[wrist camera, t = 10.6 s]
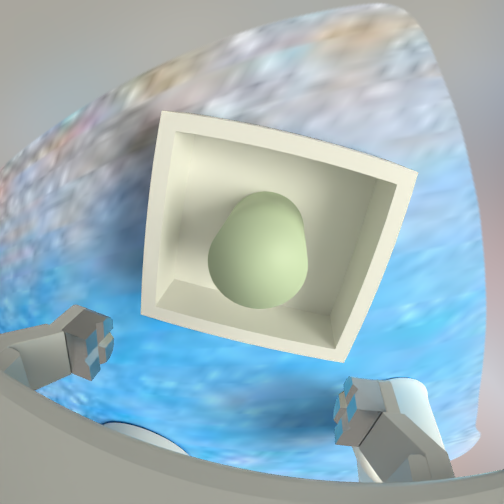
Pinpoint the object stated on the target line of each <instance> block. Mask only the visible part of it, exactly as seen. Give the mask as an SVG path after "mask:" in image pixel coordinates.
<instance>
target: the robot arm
mask: <svg viewBox="0 0 504 504" xmlns="http://www.w3.org/2000/svg"><path fill="white" fill-rule="evenodd" d="M112 329H113V321H112V319H111V318H110V317H108V316H105V315H103V314H100V313H98V312H95V311H92V310H90V309H87V308H84V307H82V306H79V305H73V306H72V307H70V308H69V309H68V310H67V311H66V312H64V313H63V314H62V315H61V316H60V317H58V318H57V319H56V320H55V321H54V322H53V323H51V324H50V325H48V324H43V325H39V326H34V327H30V328H25V329H21V330H16V331H12V332H7V333H3V334H0V504H504V469H503V470H498V471H493V472H488V473H483V474H477V475H472V476H464V477H457V478H455V476H454V472H453V469H452V466H451V463H450V460H449V457H448V454H447V452H446V451H445V450H444V449H443V448H441V447H440V446H439V445H438V444H437V443H436V442H435V441H434V440H433V439H431V438H430V437H429V436H428V435H427V434H426V433H425V432H424V431H423V430H422V429H421V428H419V427H418V426H417V425H416V424H415V423H414V422H413V421H412V420H411V419H410V418H408V417H407V416H406V415H405V414H401V413H400V409H399V406H398V403H397V399H396V396H395V393H394V390H393V387H392V384H391V382H390V381H384V380H371V379H364V378H357V377H350V376H349V377H348V378H347V379H346V381H345V383H344V391H343V392H342V393H340V394H339V395H338V397H337V399H336V401H335V405H334V410H333V420H334V421H335V422H336V423H337V426H336V427H335V429H334V433H335V444H337V445H345V446H354V447H359V450H360V451H361V453H362V454H363V455H364V457H365V458H366V460H367V461H368V462H369V464H370V465H371V467H372V468H373V469H374V471H375V472H376V474H377V475H378V476H379V478H380V479H381V481H382V482H383V483H364V482H340V481H325V480H314V479H304V478H296V477H288V476H281V475H274V474H268V473H262V472H257V471H251V470H246V469H241V468H236V467H232V466H227V465H223V464H219V463H215V462H211V461H207V460H203V459H199V458H195V457H192V456H189V455H188V454H187V453H186V452H185V451H184V450H183V449H181V448H180V447H179V446H177V445H176V444H174V443H172V442H171V441H169V440H167V439H166V438H164V437H162V436H160V435H158V434H155V433H153V432H151V431H148V430H146V429H143V428H140V427H137V426H133V425H129V424H124V423H107V424H104V425H102V424H99V423H97V422H95V421H93V420H90V419H88V418H86V417H84V416H82V415H80V414H78V413H76V412H73V411H71V410H69V409H67V408H65V407H63V406H61V405H60V404H58V403H56V402H54V401H52V400H50V399H48V398H46V397H45V396H43V395H41V394H39V393H37V392H36V391H34V390H37V389H39V388H41V387H43V386H46V385H48V384H50V383H52V382H55V381H57V380H59V379H61V378H64V377H66V376H68V375H70V374H71V373H73V374H75V375H78V376H80V377H83V378H85V379H88V380H90V381H92V380H93V379H94V377H95V376H96V375H97V373H98V372H99V371H100V364H102V363H105V362H107V361H108V359H109V358H110V356H111V354H112V351H113V346H114V338H113V336H112V335H111V333H110V331H111V330H112Z"/></svg>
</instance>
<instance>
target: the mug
mask: <svg viewBox="0 0 504 504" xmlns="http://www.w3.org/2000/svg"><path fill="white" fill-rule="evenodd" d="M385 381H390V382H391V384H392V387H393V390H394V393H395V396H396V399H397V403H398V406H399V409H400V413H401V414H405V415H406V416H407V417H408V418H410V419H411V420H412V421H413V422H414V423H415V424H416V425H417V426H418V427H419V428H421V429H422V430H423V431H424V432H425V433H426V434H427V435H428V436H429V437H430V438H431V439H433V440H434V441H435V442H436V443H437V444H438V445H439V446H440V447H441V448H443V449H444V450H445V448H444V445H443V442H442V439H441V436H440V433H439V430H438V427H437V424H436V421H435V418H434V415H433V413H432V410H431V407H430V404H429V401H428V393H427V389H426V387H425V386H424V385H423V384H422V383H421V382H420V381H418V380H415V379H412V378H393V379H388V380H385ZM352 448H353V451H354V453H355V456H356V458H357V467H358V477H359V482H364V483H383V482H382V481H381V479H380V478H379V476H378V475H377V474H376V472H375V471H374V469H373V468H372V467H371V465H370V464H369V462H368V461H367V460H366V458H365V457H364V455H363V454H362V453H361V451H360V450H359V447H354V446H352Z"/></svg>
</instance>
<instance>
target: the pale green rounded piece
mask: <svg viewBox="0 0 504 504" xmlns="http://www.w3.org/2000/svg"><path fill="white" fill-rule="evenodd" d="M208 269H209V273H210V276H211V279H212V281H213V283H214V284H215V286H216V287H217V289H218V290H219V291H220V292H221V293H222V294H223V295H224V296H225V297H227V298H228V299H229V300H231V301H233V302H234V303H236V304H239V305H241V306H244V307H248V308H253V309H266V308H272V307H276V306H279V305H281V304H283V303H285V302H287V301H288V300H290V299H291V298H292V297H294V296H295V295H296V294H297V293H298V291H299V290H300V289H301V287H302V285H303V284H304V281H305V279H306V275H307V271H308V258H307V249H306V241H305V232H304V224H303V219H302V216H301V213H300V212H299V210H298V208H297V207H296V205H295V204H294V203H293V202H292V201H290V200H289V199H288V198H286V197H285V196H283V195H281V194H278V193H275V192H266V191H264V192H257V193H253V194H250V195H248V196H246V197H245V198H243V199H242V200H241V201H240V202H239V203H238V204H237V205H236V206H235V208H234V209H233V211H232V212H231V214H230V215H229V217H228V218H227V220H226V221H225V223H224V224H223V226H222V227H221V229H220V230H219V232H218V233H217V235H216V236H215V238H214V240H213V241H212V243H211V246H210V249H209V253H208Z"/></svg>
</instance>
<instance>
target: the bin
mask: <svg viewBox="0 0 504 504" xmlns="http://www.w3.org/2000/svg"><path fill="white" fill-rule="evenodd" d="M417 175H418V172H416V171H414V170H411V169H409V168H406V167H404V166H401V165H399V164H396V163H394V162H391V161H388V160H385V159H382V158H379V157H376V156H373V155H370V154H367V153H364V152H360V151H357V150H354V149H350V148H347V147H344V146H340V145H337V144H333V143H329V142H326V141H322V140H318V139H315V138H311V137H307V136H303V135H299V134H295V133H291V132H286V131H282V130H278V129H273V128H269V127H264V126H260V125H255V124H250V123H245V122H240V121H234V120H229V119H223V118H218V117H212V116H206V115H199V114H193V113H184V112H173V111H162V112H161V117H160V123H159V129H158V135H157V141H156V148H155V154H154V161H153V168H152V176H151V184H150V192H149V201H148V210H147V220H146V231H145V243H144V257H143V273H142V295H141V315H145V316H148V317H151V318H155V319H158V320H161V321H165V322H168V323H172V324H175V325H179V326H182V327H186V328H189V329H193V330H197V331H200V332H204V333H208V334H212V335H216V336H220V337H223V338H227V339H232V340H236V341H240V342H244V343H248V344H252V345H257V346H261V347H266V348H270V349H275V350H279V351H284V352H289V353H294V354H299V355H304V356H309V357H314V358H319V359H325V360H330V361H336V362H342V363H344V361H345V359H346V357H347V355H348V353H349V351H350V349H351V347H352V345H353V343H354V341H355V339H356V337H357V334H358V332H359V330H360V328H361V326H362V324H363V321H364V319H365V317H366V315H367V312H368V310H369V308H370V305H371V303H372V301H373V298H374V296H375V294H376V291H377V289H378V287H379V284H380V282H381V279H382V277H383V274H384V272H385V269H386V267H387V264H388V261H389V259H390V256H391V253H392V251H393V248H394V245H395V243H396V240H397V237H398V234H399V231H400V228H401V226H402V223H403V220H404V217H405V214H406V211H407V208H408V204H409V201H410V198H411V195H412V192H413V188H414V185H415V182H416V178H417ZM264 191H266V192H275V193H278V194H281V195H283V196H285V197H286V198H288V199H289V200H290V201H292V202H293V203H294V204H295V205H296V207H297V208H298V210H299V212H300V213H301V216H302V219H303V224H304V232H305V241H306V249H307V258H308V271H307V275H306V279H305V281H304V284H303V285H302V287H301V289H300V290H299V291H298V293H297V294H296V295H295V296H294V297H292V298H291V299H290V300H288V301H287V302H285V303H283V304H281V305H279V306H276V307H272V308H266V309H253V308H248V307H244V306H241V305H239V304H236V303H234V302H233V301H231V300H229V299H228V298H227V297H225V296H224V295H223V294H222V293H221V292H220V291H219V290H218V289H217V287H216V286H215V284H214V283H213V281H212V279H211V276H210V273H209V269H208V253H209V249H210V246H211V243H212V241H213V240H214V238H215V236H216V235H217V233H218V232H219V230H220V229H221V227H222V226H223V224H224V223H225V221H226V220H227V218H228V217H229V215H230V214H231V212H232V211H233V209H234V208H235V206H236V205H237V204H238V203H239V202H240V201H241V200H242V199H243V198H245V197H246V196H248V195H250V194H253V193H257V192H264Z"/></svg>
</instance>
